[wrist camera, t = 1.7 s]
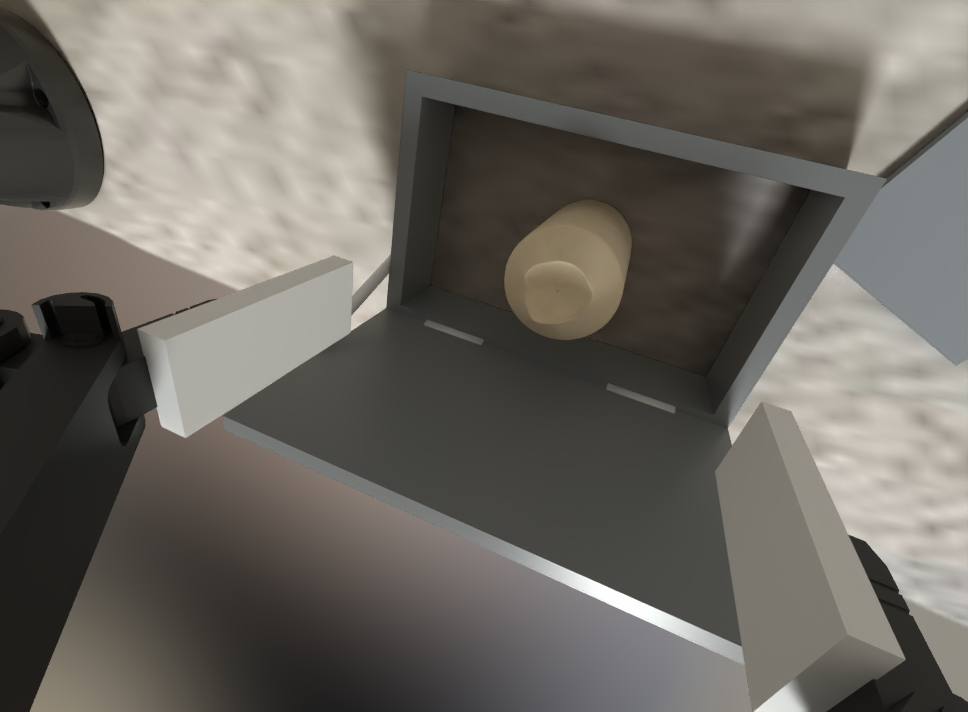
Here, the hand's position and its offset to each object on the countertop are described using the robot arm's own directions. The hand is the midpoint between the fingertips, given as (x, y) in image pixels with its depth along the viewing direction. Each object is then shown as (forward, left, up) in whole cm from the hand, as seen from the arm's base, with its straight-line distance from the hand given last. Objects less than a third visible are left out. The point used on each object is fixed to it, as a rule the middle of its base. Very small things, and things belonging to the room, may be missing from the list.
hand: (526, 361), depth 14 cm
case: (0, 0, -16) cm, 16 cm away
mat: (+14, +11, -16) cm, 24 cm away
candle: (0, 0, -16) cm, 16 cm away
